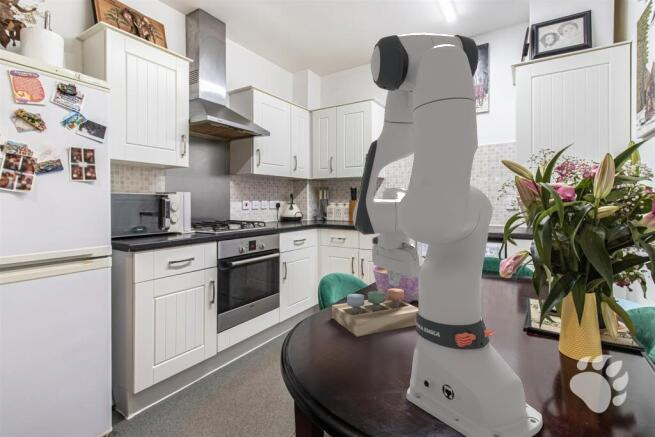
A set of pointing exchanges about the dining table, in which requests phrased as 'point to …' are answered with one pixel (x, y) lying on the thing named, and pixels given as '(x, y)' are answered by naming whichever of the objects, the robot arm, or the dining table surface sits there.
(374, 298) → the button green
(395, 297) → the button terracotta
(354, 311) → the button slate
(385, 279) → the bowl of food
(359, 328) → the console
